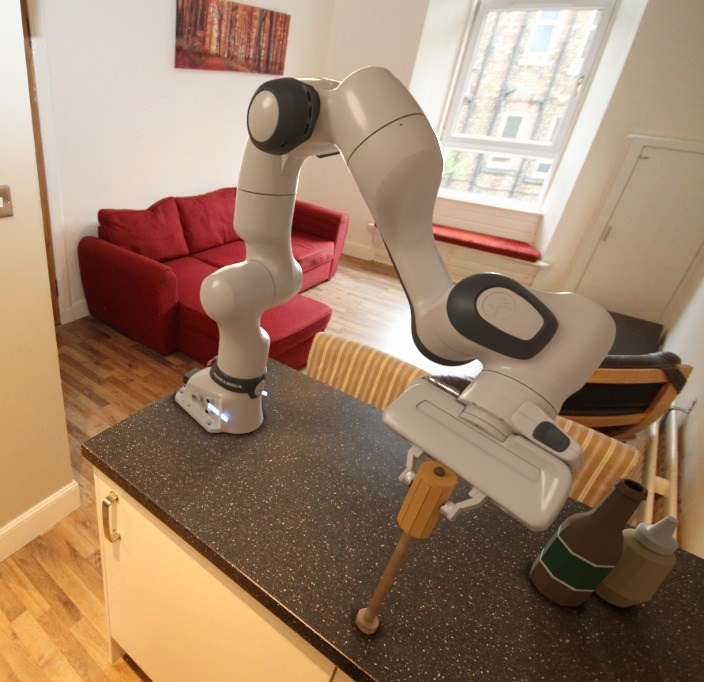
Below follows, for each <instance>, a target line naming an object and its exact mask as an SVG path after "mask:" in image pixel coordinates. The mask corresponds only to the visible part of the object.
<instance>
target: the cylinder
mask: <svg viewBox="0 0 704 682" xmlns="http://www.w3.org/2000/svg"><path fill="white" fill-rule="evenodd" d="M415 474H416V475H415V478H414V480H413V482H412V484H411V487H410V488H408V491H407V494H406V496H405V498H404V500H403V502H402V505H401V507H400V509H399V512H398V514H397V516H396V520H397V523H398V526H399V527H400V529H401V530H403V532H404V531H405V532H406V533H407V534H409V535H411V536H413V537H415V539H419V540H423V539H428V538H430V537H431V535H432V534H433V531H434V529H435V527H436V525H437V523H438V521H439V519H440V517H441V515H442V514H441V513H440V512H439V509H440V508H441V507H442V506H444V503H445V502H446V501H447V500H448V499H449V500H450V497H451V496H452V494H453V492H454V490H455V488H456V486H457V484H458V481H459V479H458V478H457V476H456V474H455V473H454V472H453V471H452V470H450V469H449V468H447V467H446V466H444V465H443V464H442V463H439V462H436V461H433V460H425V461H422V462H421V464H420V466H419V468H418V470H417V471H416V472H415Z"/></svg>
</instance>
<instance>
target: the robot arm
mask: <svg viewBox="0 0 704 682" xmlns="http://www.w3.org/2000/svg"><path fill="white" fill-rule="evenodd" d="M246 128H247V134H248V136H247V138H246V141H245V145H244V149H243V152H242V157H241V162H240V165H239V170H238V176H237V183H236V184H237V185H236V192H235V193H236V194H235V204H234V213H233V214H234V215H233V223H232V226H233V231H234V232H235V234H236V235H237V237H239V238H240V239H241V240H243V241H244V246H245V253H246V255H245V259H244V261H241V262H238V263H234V264H230V265H226V266H224V267H220V268H219V269H217V270H216V271H214V272H212V273H210V274H209V275H208V276H206V277H205V278H204V279H203V280H202V283H201V285H200V289H199V299H200V304H201V307H202V310H203V311H204V312H205V314H206V315H207V316H208V317H209V318H210V319H211V320H213V321H215V322H216V324H217V328H218V335H219V341H218V351H217V355H215V356H214V357H212V358H211V359H210V360H209V361H207V362H206V367H205V368H202V369H200V368H198V367H194V368H193V369H191V370H190V371H188V372H186V373H185V374H183V377H182V383H183V384H185V385H186V386H185V385H183V386H182V387H180V388H179V389H178V390H177V392H176V394H175V396H174V401H175V402H176V403H177V404H178V405H179V406H180V407H181V408H182V409H183V410H184V411H185V412H187V413H188V415H190V416H191V417H192V418H193V419H194V420H195V421H196V422H197V423H198V424H199V425H200V426H201V427H202V428H203V429H205V430H206V431H207V432H208V433H211V434H217V433H228V434H234V435H239V434H241V435H242V434H247V433H251V432H254V431H256V430H257V429H258V428H260V427H261V425H262V424H263V422H264V414H263V405H262V400H263V396H267V395H268V392H267V391H264V388H265V385H266V379H267V373H268V368H267V364H268V363H267V362H268V358H269V354H270V353H269V352H270V346H271V337H270V335H269V334H268V332H267V331H266V330H265V329H264V328H263V327H261V318H262V316H263V314H264V313H265V312H266V311H269V310H271V309H274V308H276V307H279V306H282V305H284V304H286V303H287V302H288V301H290V300H291V299H293V298H294V297H295V296H296V295H297V294H298V293H299V292H300V290H301V289H302V287H303V282H304V274H303V270H302V267H301V266H300V263H298V261H297V260H296V259H295V257H294V253H293V249H292V226H293V218H294V212H295V205H296V199H297V193H298V186H299V179H300V173H301V169H302V167H303V165H304V164H305V163H306V161H307V160H309V158H311V157H315V156H316V158H318V159H324V158H328V157H332V156H338V155H340V156H341V158H342V160H343V162H344V164H345V165H346V168H347V169H348V172H349V173H350V175H351V178H352V180H353V181H354V183H355V185H356V187H357V189H358V191H359V192H360V194H361V197H362V199H363V200H364V202H365V204H366V206H367V208H368V209H369V212H370V214H371V216H372V219H373V221H374V223H375V226H376V227H377V230H378V232H379V234H380V236H381V239H382V241H383V244H384V247H385V248H386V251H387V254H388V257H389V259H390V261H391V264H392V266H393V268H394V271H395V274H396V276H397V278H398V280H399V283H400V285H401V288H402V290H403V292H404V294H405V297H406V300H407V302H408V305H409V309H410V331H411V337H412V338H411V339H412V341H413V344H414V346H415V347H416V349H417V350H418V352H419V353H420V354H421V356H423V357H425V358H426V359H427V360H429V361H430V362H432V363H434V364H437V365H440V366H444V367H461V366H466V365H468V364H470V363H473V362H474V361H476V360H477V361H478V362H480V363H481V365H482V369H481V370H480V372H478V374H477V375H476V376H475V377H474V379H473V380H472V381H471V382H470V383H469V384H468V385H467V386H466V387H465V389H464V390H463V391H462V390H460V389H458V388H456V387H454V386H453V385H450V384H449V383H446V382H444V381H442V380H441V379H440V378H439V377H437V376H434V375H430V376H429V375H419V376H416V377H414V378H413V379H412V380H411V381H410V382H409V384H408V385H406V387H405V389H404V391H403V392H402V393H401V394H400V395H399V396H397V397H396V398H395V399H394V400H393V401H392V402H391V403H390V404H389V405H388V406H387V407H386V408H385V409H384V410H383V411H382V416H381V418H382V419H381V420H382V423H383V425H384V426H385V428H386V429H388V431H390V432H391V433H393V434H395V436H397V437H399V438H400V439H402V440H403V441H404V442H405V443H407V444H409V445H410V446H411V447H410V448H409V449H408V451H407V456H406V462H405V467H406V468H405V469H404V470H403V471H402V473H401V474H400V475H399V476H398V478H397V480H398V481H399V482H400V483H401V484H403V485H404V486H405V487H406V488H408V489H410V487H411V484H412V482H413V480H414V478H415V475H416V467H417V462H420V463H423V462H424V460H425V459H426V458H428V459H430V461H436V462H439V463H442V464H443V465H444V466H446V467H447V468H449V469H450V470H452V471H453V472H454V473H455V474H456V476H457V479H458V481H459V480H460V481H461V482H462V483H464V484H465V485H466V486H468V487H469V488H470V491H469V492H468V494H467V495H468V497H469V499H465V500H462V501H459V502H453V501H452V500H450V498H449V499H448V500H447V501H446V502H445V503H444V506H442V507H441V508H440V509H439V512H440V513H441V515H442V516H443V517H444V518H446V519H447V520H448V521H450V522H451V523H452V522H454V521H455V520H456V519H457V518H458V517H459V515H461V513H465V512H468V511H471V510H476V509H479V508H482V507H483V506H484V504H485V503H486V502H488V501H489V502H490V503H492V504H493V505H495V506H496V507H497V508H499V509H500V510H502V511H503V512H504V513H506V514H507V515H509V516H510V517H511V518H513V520H515V521H517V522H518V523H520V524H521V525H523V526H524V527H525V528H527V529H528V530H529V531H531V532H546V531H547V530H548V529H549V528H550V527H551V526H552V524H553V523H554V522H555V520H556V519H557V517H558V516H559V514H560V513H561V511H562V510H563V508H564V506H565V504H566V502H567V500H568V499H569V496H570V493H571V490H572V484H573V475H574V474H576V472H577V471H579V469H580V468H581V467H582V465H583V463H584V458H585V456H584V450H583V447H582V446H581V444H580V443H579V442H578V441H577V440H576V439H575V438H573V437H572V436H571V435H570V434H569V433H568V432H567V431H566V430H565V429H564V428H563V427H561V426H560V425H559V424H558V423H557V422H556V421H555V419H556V418H558V416H559V414H560V412H561V410H562V407H563V404H564V403H565V401H566V400H567V399H568V398H569V397H570V396H572V395H573V394H575V393H577V392H579V391H580V390H581V389H582V388H583V387H584V386H585V385H586V384H587V382H588V381H589V380H590V379H591V377H592V376H593V375H594V374H595V372H596V371H597V370H598V369H599V367H600V366H601V364H602V363H603V361H604V360H605V359H606V358H607V356H608V354H609V352H610V351H611V349H612V347H613V345H614V342H615V340H616V335H617V327H616V322H615V320H614V318H613V317H612V315H611V314H610V312H609V311H607V309H605V307H603V306H602V305H601V304H600V303H598V302H597V301H595V300H594V299H592V298H590V297H588V296H587V295H583V294H580V293H576V292H571V291H563V292H552V291H546V290H541V289H537V288H533V287H530V286H527V285H525V284H522V283H520V282H519V281H518V280H515V279H514V278H513V277H510V276H508V275H506V274H502V273H498V272H491V271H485V272H478V273H473V274H470V275H468V276H466V277H464V278H462V279H461V280H459V281H458V282H457V283H455V284H454V282H453V279H452V277H451V275H450V273H449V271H448V268H447V266H446V264H445V261H444V259H443V257H442V254H441V252H440V250H439V248H438V245H437V243H436V240H435V236H434V229H433V218H434V211H435V206H436V202H437V197H438V194H439V190H440V188H441V184H442V181H443V177H444V172H445V166H446V164H445V163H446V161H445V158H444V153H443V149H442V145H441V142H440V140H439V137H438V134H437V132H436V131H435V129H434V127H433V125H432V124H431V121H430V120H429V119H428V116H427V115H426V113H425V112H424V110H423V108H422V107H421V105H420V103H418V101H417V99H416V98H415V97H414V96H413V94H412V93H411V92H410V91H409V89H408V88H407V86H405V85H404V83H402V81H401V80H400V79H399V78H398V77H397V76H396V75H395V74H394V73H393V72H392V71H391V70H390V69H388V68H386V67H384V66H380V65H368V66H364V67H362V68H359V69H357V70H355V71H353V72H351V73H350V74H349V75H348V76H346V77H345V78H344V79H342V81H340V80H337V79H336V80H335V79H331V78H325V77H308V78H307V77H306V78H305V77H303V78H296V77H295V78H294V77H291V76H282V77H275V78H273V79H270V80H266V81H265V82H263V83H261V84H260V85H259V86H258V87H257V88H256V89H255V91H254V93H253V94H252V96H251V98H250V101H249V104H248V108H247V112H246ZM184 386H185V387H184Z"/></svg>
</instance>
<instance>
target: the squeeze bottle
mask: <svg viewBox="0 0 704 682" xmlns="http://www.w3.org/2000/svg"><path fill="white" fill-rule="evenodd" d="M678 524H679V520H678V519H677V518H675V517H674V516H672V515H668V516H666V517H664V518H662V519H661V520H659V521H657V522H656V523H654V524H652V523H650V522H641V523H639V524H638V525H637V527H635V528H625V529H624V528H623V531H622V533H623V536H624V541H623V549H622V556H621V559H620V560H619V562H618V563H617V565H616V566H615V567H614V568H613V569H612V571H611V572H610V573H609V574H608V575H607V576H606V577H605V579H604V580H603V581H602V582H601V583H600V584H599V585H598V587H597V588H596V589H595V590H594V591H593V592H594V593H595V595H597V596H598V597H599V598H601V599H602V600H604V601H605V602H606V603H608V604H611V605H613V606H615V607H619V608H628V607H632V606H635V605H638V604H643V603H646V602H649V601H650V600H651V599H652V598H653V596H654V595H655V593H656V592H657V590H658V589H659V587H660V586H661V585H662V583H663V582H664V581H665V578H666V577H667V576H668V575H669V573H670V571H672V569H673V567H674V566H675V564H676V563H677V558H676V555H675V553H674V552H676V550H678V548H679V543H678V540H677V539H676V538H675V537H674V534H675V531H676V529H677V526H678Z"/></svg>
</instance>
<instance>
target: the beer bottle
mask: <svg viewBox="0 0 704 682" xmlns="http://www.w3.org/2000/svg"><path fill="white" fill-rule="evenodd" d="M648 495H649V490H648V489H647V488H646V486H644V485H643V484H641V483H640V482H638V481H636V480H634V479H631V478H628V477H619V478H617V479H615V480H614V485H613V487H612V488H611V489H610V490H609V491H608V492H607V493H606V494H605V496H604V497H602V499H601V500H600V501H599V502H598V503H597V504H596V506H594V507H593V508H592V509H590V510H589V511H585V512H578V513H574V514H572V515H570V516H568V517H566V518H565V519H564V521H563V522H562V523H561V524H560V525H559V526H558V528H557V530H556V531H555V532H554V533H553V535H552V537H550V539H549V540H548V542H547V543H546V544H545V546H544V547H543V548H542V550H541V551H540V553H539V554H538V556H537V557H536V558H535V560H534V562H533V563H532V565H531V569H530V571H529V575H528V577H529V579H530V581H531V582H532V583H533V585H534V586H535V588H536V590H537V591H538V592H539V593H540V594H541V595H542V596H544V597H545V598H548V599H549V600H550V601H552V602H554V603H555V604H557V605H558V606H561V607H580V606H581V605H582V604H583V603H584V602H585V601H586V600H587V599H588V598H589V597H590V596H591V595H592V593H593V592H594V590H595V589H596V588H597V587H598V585H599V584H600V583H601V582H602V581H603V580H604V579H605V577H606V576H607V575H608V574H609V573H610V572H611V571H612V569H613V568H614V567H615V566H616V565H617V563H618V562H619V560H620V559H621V556H622V549H623V541H624V536H623V533H622V531H623V530H624V528H625V526H626V525H627V523H629V521H630V519H631V517H632V516H633V515H634V513H635V511H637V509H638V507H639V506H640V504H641V503H642V501H643V502H644V501H645V502H646V501H647V499H648Z"/></svg>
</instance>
